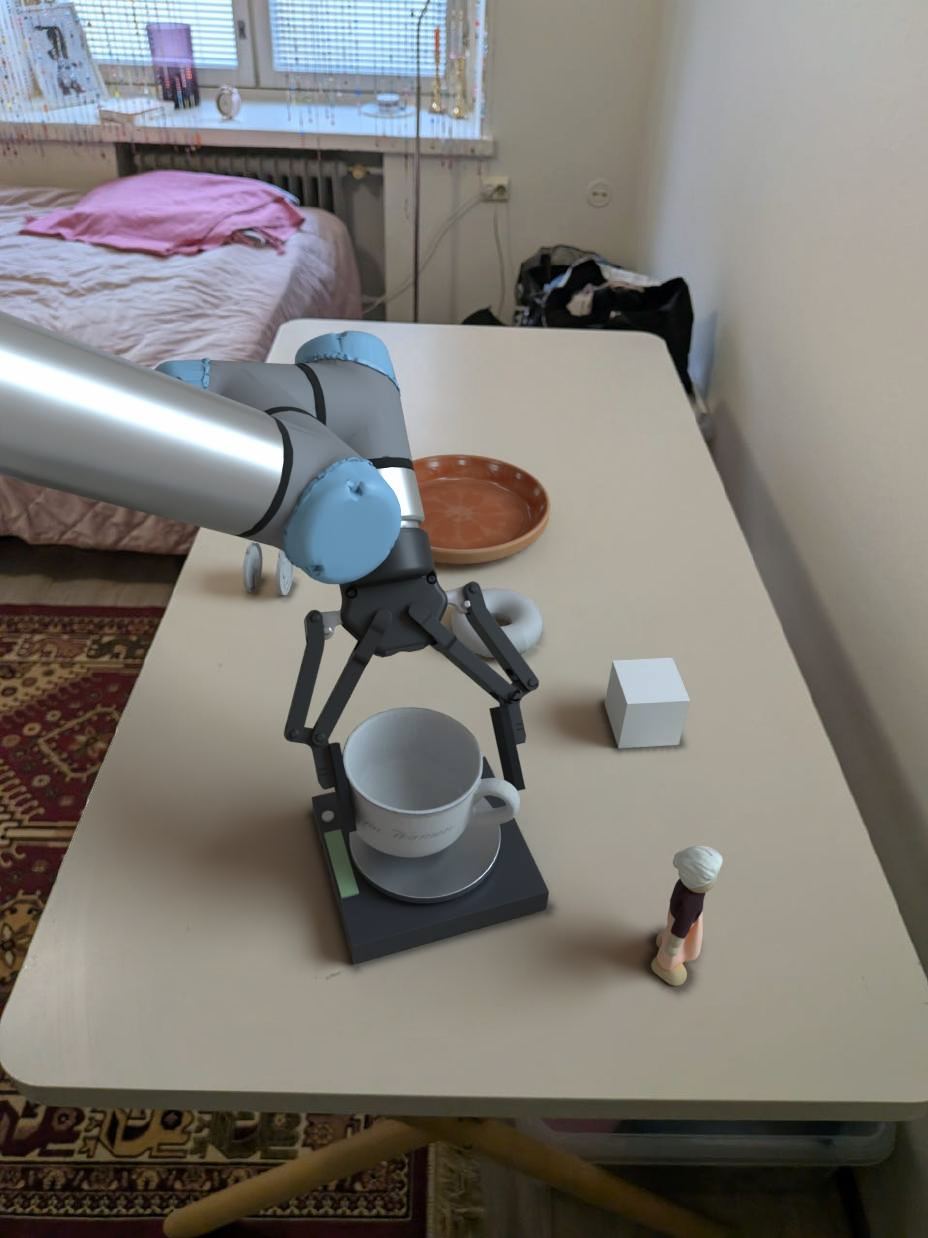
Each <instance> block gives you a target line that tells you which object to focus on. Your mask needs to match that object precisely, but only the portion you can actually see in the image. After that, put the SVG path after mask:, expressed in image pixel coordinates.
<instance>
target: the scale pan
mask: <svg viewBox="0 0 928 1238" xmlns="http://www.w3.org/2000/svg"><path fill="white" fill-rule="evenodd" d="M474 807H475V808H477V809H493V808H492V807H491V805H490V804H489V803H488V801H487V800H486V799H485V798H484V797H482V798H481V799H480V800H479V802H478V803H475V806H474ZM349 840H350V851H351V855H352V859H353V861H354V864H355V866H356V867H357V869H358V871H359V872H360V874H361V875H362V876H363V878H364V879H365V880H366V881H367V882H368V883H369V884H370V885H372V886H373V887H374V888H376V889H377V890H378V891H380V892H382V893H384V894H386V895H387V896H390V897H392V898H395V899H398V900H402V901H406V902H412V903H438V902H443V901H448V900H451V899H454V898H457V897H459V896H461V895H463V894H465V893H467V892H469V891H470V890H472V889H474V888H475V887H476V886H477V885H479V884H480V883H481V882H482V881H483V880H484V879H485V878H486V877H487V876H488V875H489V873H490V872H491V870H492V869H493V867H494V865H495V863H496V861H497V858H498V854H499V850H500V842H501V830H500V825H499V824H496V825H480V826H476V827H474V828H466V829H465V830H464V831H463V832H462V834H461V835H460V836H459V837H458V838H457V839H456V840H455V841H454V842H453V843H452V844H450V845H449V846H448V847H446V848H444V849H443V850H441V851H439V852H436V853H433V854H430V855H426V856H422V857H399V856H394V855H390V854H386V853H384V852H381V851H379V850H377V849H375V848H373V847H372V846H370V845H369V844H367V843H366V842H365V841H364V840H363V839H362V838H360V837H359V835H358V834H357V833H356V832H355V831H354V832H350V834H349Z"/></svg>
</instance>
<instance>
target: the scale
mask: <svg viewBox="0 0 928 1238" xmlns="http://www.w3.org/2000/svg"><path fill="white" fill-rule="evenodd" d="M486 778H496V776H495V774H494V772H493V769H492V767H491V765H490V763H489V761H488V759H487V757H486V756H485V755H484V756H483V770H482V775H481V779H486ZM484 798H485V799H486V800H487V801H488V803H489V804H490V805H491V807H492V808H499V807H503V806H505V805H507V804H506V803H505V801H503V800H502V799H501V798H499V797H496V796H492V795H487V796H484ZM311 803H312V804H311V805H312V814H313V819H314V822H315V826H316V830H317V834H318V837H319V840H320V845H321V848H322V849H321V850H322V852H323V857H324V859H325V864H326V868H327V871H328V875H329V878H330V882H331V886H332V889H333V893H334V897H335V900H336V905H337V908H338V912H339V917H340V920H341V924H342V928H343V931H344V935H345V939H346V942H347V946H348V950H349V954H350V957H351V961H352V965H356V964H360V963H363V962H368V961H371V960H374V959H379V958H381V957H384V956H385V957H386V956H389V955H392V954H395V953H398V952H399V953H400V952H402V951H406V950H410V949H413V948H416V947H419V946H424V945H426V944H427V945H428V944H430V943H434V942H437V941H440V940H444V939H448V938H450V937H454V936H459V935H461V934H462V935H463V934H466V933H469V932H473V931H475V930H476V931H477V930H479V929H482V928H486V927H490V926H493V925H496V924H500V923H503V922H507V921H511V920H514V919H518V918H521V917H524V916H528V915H532V914H535V913H538V912H542V911H546V910H547V907H548V900H549V895H550V890H549V889H548V886H547V884H546V882H545V880H544V877H543V875H542V874H541V871H540V870H539V867H538V865H537V863H536V861H535V859H534V857H533V855H532V852H531V850H530V848H529V846H528V844H527V842H526V840H525V837H524V835H523V833H522V830H521V828H520V827H519V825H518V823H517V820H516V818H515V817H514V818H513V819H511V820H510V821H508V822H506V823H502V824H499V825H500V830H501V842H500V850H499V854H498V858H497V861H496V863H495V865H494V867H493V869H492V870H491V872H490V873H489V875H488V876H487V877H486V878H485V879H484V880H483V881H482V882H481V883H480V884H479V885H477V886H476V887H475V888H474V889H472V890H470V891H469V892H467V893H465V894H463V895H461V896H459V897H457V898H454V899H451V900H448V901H443V902H438V903H412V902H406V901H402V900H398V899H395V898H392V897H390V896H387V895H386V894H384V893H382V892H380V891H378V890H377V889H376V888H374V887H373V886H372V885H370V884H369V883H368V882H367V881H366V880H365V879H364V878H363V876H362V875H361V874H360V872H359V871H358V869H357V867H356V866H355V864H354V861H353V859H352V855H351V851H350V840H349V834H350V833H346V832H345V831H344V830H343V829H342V824H341V819H340V814H339V809H338V804H337V799H336V794H335V791H331V792H326V793H323V794H319V795H313V796H312V797H311Z"/></svg>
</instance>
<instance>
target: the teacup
mask: <svg viewBox="0 0 928 1238" xmlns="http://www.w3.org/2000/svg"><path fill="white" fill-rule="evenodd" d="M342 757H343V762H344V767H345V772H346V777H347V782H348V787H349V792H350V797H351V802H352V807H353V813H354V818H355V823H356V828H357V831H355V832H356V833H357V834H358V835H359V837H360V838H362V839H363V840H364V841H365V842H366V843H367V844H369V845H370V846H372V847H373V848H375V849H377V850H379V851H381V852H384V853H386V854H390V855H394V856H399V857H422V856H426V855H430V854H433V853H436V852H439V851H441V850H443V849H444V848H446V847H448V846H449V845H450V844H452V843H453V842H454V841H455V840H456V839H457V838H458V837H459V836H460V835H461V834H462V832H463V831H464V830H465V829H466V828H474V827H476V826H480V825H496V824H502V823H506V822H508V821H510V820H511V819H513V818H515V817H516V815H517V814H518V812H519V809H520V806H521V805H520V804H521V798H520V797H521V796H520V793H519V791H517V790H516V788H515V787H514V786H513V785H512V784H510V783H509V782H507V781H505V780H504V779H502V778H498V777H495V778H486V779H481V775H482V770H483V757H484V756H483V751H482V749H481V746H480V744H479V742H478V739H477V738H476V736H475V735H474V734H473V733H472V732H471V731H470V729H468V728H467V727H466V726H465V725H464V724H463V723H461V722H460V721H458V720H457V719H455V718H453V717H452V716H450V715H448V714H445V713H443V712H440V711H438V710H435V709H431V708H425V707H418V706H417V707H414V706H406V707H404V706H403V707H397V708H396V707H395V708H391V709H386V710H382V711H380V712H377V713H375V714H374V715H371V716H369V717H367V718H366V719H365V720H363V721H362V722H361V723H359V724H358V725H357V726H356V727H355V728H354V730H352V731H351V733H350V734H349V735H348V737H347V738H346V741H345V743H344V745H343V749H342ZM487 795H492V796H496V797H499V798H501V799H502V800H503V801H505V803H506V804H507V805H505V806H503V807H499V808H493V809H477V808H475V807H474V806H475V803H478V802H479V800H480V799H481V798H482V797H484V796H487Z"/></svg>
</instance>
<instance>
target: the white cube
mask: <svg viewBox="0 0 928 1238" xmlns="http://www.w3.org/2000/svg"><path fill="white" fill-rule="evenodd" d="M606 689H607V690H606V695H605V699H604V706H605V710H606V713H607V716H608V720H609V723H610V726H611V731H612V732H613V735H614V739H615V742H616V745H617V748H618V749H630V748H646V747H647V748H648V747H650V748H651V747H664V746H665V747H666V746H679V745H680V742H681V737H682V734H683V730H684V726H685V723H686V719H687V715H688V710H689V707H690V704H691V699H690V696H689V693H688V692H687V689H686V687H685V684H684V682H683V680H682V677H681V675H680V672H679V670H678V667H677V665H676V662H675V660H674V658H673V657H659V658H657V657H656V658H639V659H637V658H636V659H635V658H634V659H615V660H612V661H611V668H610V672H609V678H608V684H607V688H606Z"/></svg>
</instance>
